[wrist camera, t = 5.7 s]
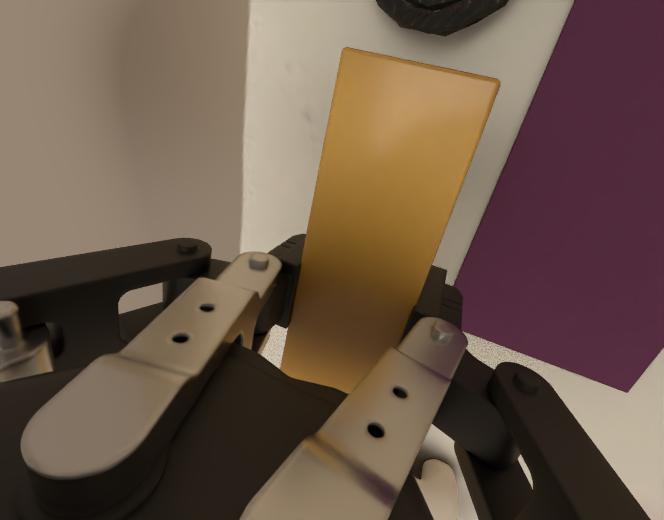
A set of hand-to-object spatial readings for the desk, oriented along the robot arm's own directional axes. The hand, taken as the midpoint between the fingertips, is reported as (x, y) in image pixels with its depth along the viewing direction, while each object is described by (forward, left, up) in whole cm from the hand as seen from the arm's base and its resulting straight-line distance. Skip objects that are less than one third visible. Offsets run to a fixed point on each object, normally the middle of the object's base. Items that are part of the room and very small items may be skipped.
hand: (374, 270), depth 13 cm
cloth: (-4, +9, -9) cm, 14 cm away
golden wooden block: (0, 0, 0) cm, 0 cm away
